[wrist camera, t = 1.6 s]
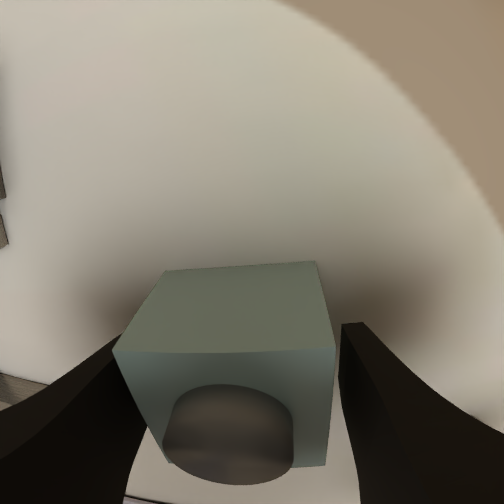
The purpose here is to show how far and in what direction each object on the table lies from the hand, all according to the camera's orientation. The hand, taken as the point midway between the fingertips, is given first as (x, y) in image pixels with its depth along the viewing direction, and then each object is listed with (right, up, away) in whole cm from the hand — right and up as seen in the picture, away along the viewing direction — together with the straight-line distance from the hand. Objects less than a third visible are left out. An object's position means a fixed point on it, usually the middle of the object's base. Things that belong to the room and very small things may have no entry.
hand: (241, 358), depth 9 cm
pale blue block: (0, +1, +1) cm, 2 cm away
